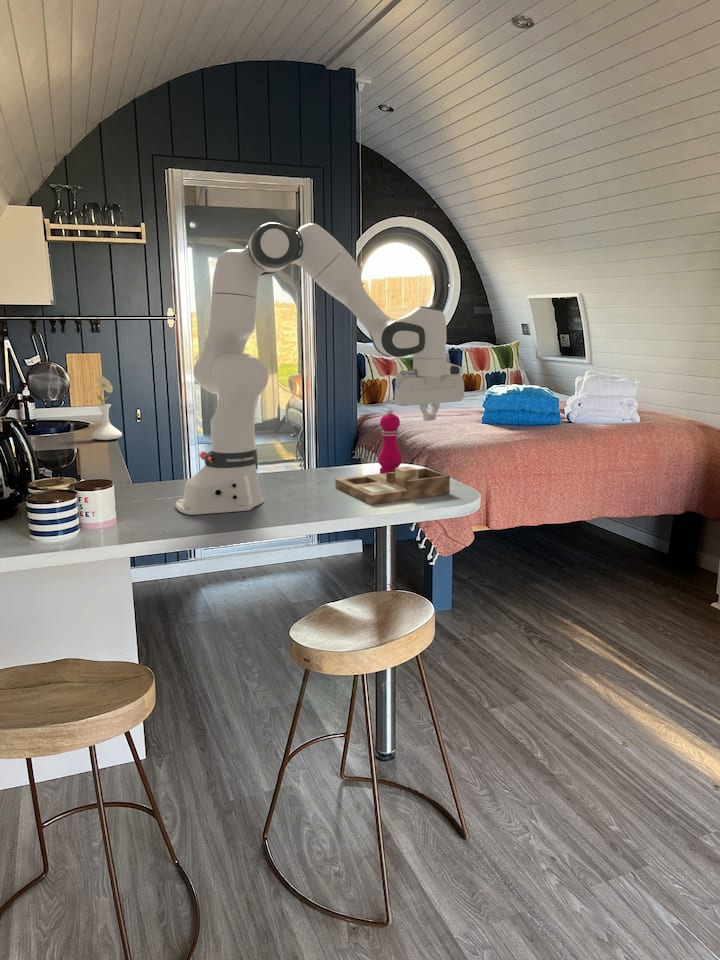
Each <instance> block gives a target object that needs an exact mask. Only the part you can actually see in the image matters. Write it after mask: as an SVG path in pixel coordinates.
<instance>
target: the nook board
mask: <svg viewBox="0 0 720 960" xmlns="http://www.w3.org/2000/svg"><path fill="white" fill-rule="evenodd" d="M417 469H418V479H415V480H407V481H406V487H401V486H399V485H397V484H395V472H389V473H381V474H380V473H375V474H366V475H358V476H357V475H356V476H350V477H340V478H335V482H334V483H335V488H336V489H338V490H340V491H342V492H343V493H345V494H348V495H350V496H352V497H354V498H356V499H358V500H360V501H363V502H364V503H366V504H368V505H371V506H372V505H381V504H387V503H395V502H401V501H410V500H415V499H422V498H423V497H424V498H430V497H429V496H432V497H438V496H437V495H439V496H444V495H443V494H446V495H449V494H448V493H450V494H451V491H450V488H451V487H450V486H451V475H448V474H445V473H442V472H439V471H437V470H433V469H431V468H428V467H424V468H423V467H422V468H417ZM424 498H423V499H424Z"/></svg>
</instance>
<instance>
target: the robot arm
mask: <svg viewBox="0 0 720 960" xmlns="http://www.w3.org/2000/svg"><path fill="white" fill-rule="evenodd" d="M216 260H217V261H216V264H215V268H214V273H213V279H212V286H211V287H212V288H211V301H210V302H211V303H210V304H211V305H210V319H209V325H208V326H209V328H208V331H207V335H206V339H205V342H204V346H203V349H202V352H201V354H200V356H199V358H198V359H196V362H195V363H194V366H193V377H194V380H195V382H196V383H197V384H198V386H200V387H201V388H203V389H204V390H205V391H207V392H209V393H210V394H214V395H217V396H218V398H217V399H218V400H217V406H216V409H215V412H214V414H213V416H212V417H211V419H210V421H209V422H210V439H211V442H210V443H211V450H210V451H208V452H206V451H203V450H202V451H200V453H199V454H198V455H199V458H200V459H201V460H203V461H204V466H203V467H202V468H201V469H200V470H198V472H196V473H195V474H194V475H193V476H191V477H190V478H189V479H188V480H187V481H186V483H185V486H184V492H183V493H184V494H183V498H181V499H178V500H176V502H175V508H176V510H177V511H179V512H181V513H182V514H185V515H189V516H190V515H191V516H193V515H194V516H195V515H206V514H220V513H233V512H234V513H235V512H245V511H250V510H252V509H253V508H254V507H257V506H259V505H261V504H262V503H264V498H263V495H262V491H261V487H260V482H259V478H258V466H259V458H258V457H259V456H258V449H257V448H256V442H255V441H256V438H255V435H256V434H255V432H256V431H255V430H256V429H255V420H256V419H255V418H256V417H255V416H256V413H257V412H256V411H257V406H258V403H259V398H260V396H261V394H262V393H263V391H264V390H266V387H267V385H268V382H269V371H268V369H267V366H266V365H265V363H264V362H263V361H262V360H261V359H259V358H257V357H256V356H253V355H251V354H250V353H249V354H248V353H244V352H245V348H246V345H247V342H248V340H249V338H250V336H251V335H252V334H253V332H255V331H254V330H255V327H256V315H257V312H256V311H257V301H258V299H257V298H258V297H257V295H258V283H259V279H260V277H261V276H266V275H271V274H275V273H277V272H279V271H281V270H283V269H285V268H286V267H287V266H288V265H291V264H294V265H295V266H296V265H297V266H299V267H300V268H302V269H303V270H305V271H306V273H307V274H308V275H309V276H310V278H311V279H313V281H314V282H315V283H316V284H317V285H318V287H320V288H321V289H322V290H324V291H325V292H326V293H327V294H329V295H330V296H331V297H333V298H334V299H335V300H337V301H339V302H340V303H342V304H343V305H344V306H345V307H346V308H348V310H349V311H350V312H351V313H352V314H353V315H354V316H355V317H356V319H357V320H358V321H359V322H360V323H361V324H362V325H363V327H365V329H366V331H367V332H368V334H369V337H370V339H371V342H372V344H373V347H374V349H375V350H376V351H377V352H378V353H379V354H380V355H382V356H385V357H390V358H392V357H393V358H397V359H398V358H404V357H406V356H411V355H412V359H413V360H412V368H413V369H409V370H400V372H398V373H397V374H396V375H395V378H394V379H395V386H394V387H395V389H394V395H393V397H394V403H395V405H396V406H399V407H408V406H419V409H420V412H421V413H422V415H423V417H422V420H423V421H424V422H425V421H426V422H429V421H435V420H437V419H436V418H437V413H438V411H439V409H440V407H441V406H440V404H445V403H456V402H462V401H463V400H464V398H465V382H464V378H463V376H462V375H463V372H464V371H463V367H462V366H459V365H457V364H454V363H450V362H448V361H447V354H446V344H447V320H446V315H445V313H444V312H443V311H442V310H441V309H439V308H436V307H429V306H421V305H420V306H417V307H416V308H415V309H413V310H412V311H411V312H409V313H407V314H406V315H403V316H401V317H399V318H396V319H394V318H391V317H390V316H388V314H387V315H386V313H385V312H384V311H383V310H382V309H381V308H380V307H379V305H378V304H377V303H376V302H375V301H374V300H373V299H372V298H371V296H370V295H369V294H368V292H367V291H366V290H365V288H364V286H363V282H362V274H361V269H360V268H359V266H358V264H357V263H356V261H355V260H354V258H353V257H352V256H351V254H350V253H349V252H348V251H347V249H346V248H344V246H343V245H342V244H341V243H340V241H338V240H337V239H336V238H335V237H334V236H333V235H332V234H330V233H329V232H328V231H327V230H326V229H324V228H323V227H322V226H321V225H319V224H317V223H312V222H310V223H306V224H304V225H302V226H300V227H299V228H298V229H296V228H294V227H290V226H287V225H285V224H283V223H278V222H267V223H263V224H262V225H260V226H258V227H257V228H256V229H255V231H254V232H253V233H252V234H251V236H250V239H249V240H248V242H247V244H246V246H245V247H244V248H242V249H228V250H225V251H223V252H222V253H220V254H219V255H218V258H217V259H216ZM429 405H430V406H431V407H432V408H431V411H430V413H429V412H428V410H427V409H429Z"/></svg>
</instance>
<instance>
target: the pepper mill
mask: <svg viewBox="0 0 720 960" xmlns="http://www.w3.org/2000/svg"><path fill="white" fill-rule="evenodd" d="M386 413H387V414H384V415H383V416H382V417H381V418H380V420H379V425H380V427H381V429H382V430H381V435H382V437H383V440H382V442H383V444H382V447H381V450H380V453H379V454H378V457H377V458H378V459H377V461H378V465H380V468H379V474H381V473H389V472H395V468H399V467H400V466H401V465H402V461H403V458H402V457H403V456H402V454H401V452H400V449H399V447H398V443H397V438H398V435H399V429H398V428H399V427H400V426H401V420H400V418H399V416H398V415H397V414H396V415H395V414H394V411H393V409H392V408H388V409H387V410H386Z"/></svg>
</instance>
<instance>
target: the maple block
mask: <svg viewBox="0 0 720 960" xmlns="http://www.w3.org/2000/svg"><path fill="white" fill-rule="evenodd" d="M418 469H419V468H416V467H413V466H410V465H409V466H408V465H407V466H401V467H400V466H399V468H395V484H397V485H399V486H401V487H406V481H407V480H415V479H418Z"/></svg>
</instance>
